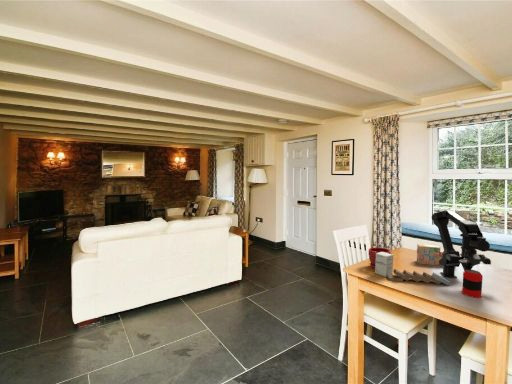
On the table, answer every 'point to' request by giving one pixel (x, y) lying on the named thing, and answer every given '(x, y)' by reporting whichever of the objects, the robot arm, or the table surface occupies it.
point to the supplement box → (384, 264)
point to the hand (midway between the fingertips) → (466, 274)
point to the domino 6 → (441, 279)
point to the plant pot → (373, 254)
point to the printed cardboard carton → (429, 254)
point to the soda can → (472, 283)
